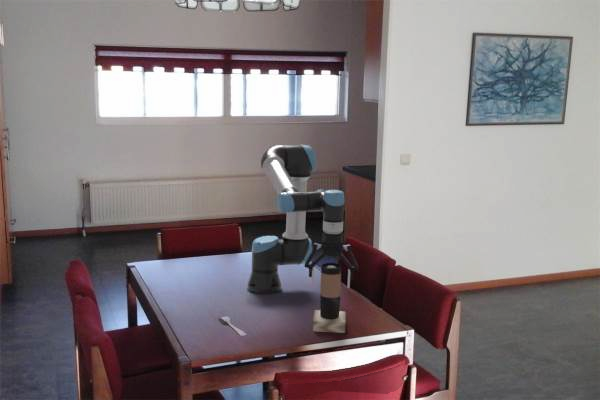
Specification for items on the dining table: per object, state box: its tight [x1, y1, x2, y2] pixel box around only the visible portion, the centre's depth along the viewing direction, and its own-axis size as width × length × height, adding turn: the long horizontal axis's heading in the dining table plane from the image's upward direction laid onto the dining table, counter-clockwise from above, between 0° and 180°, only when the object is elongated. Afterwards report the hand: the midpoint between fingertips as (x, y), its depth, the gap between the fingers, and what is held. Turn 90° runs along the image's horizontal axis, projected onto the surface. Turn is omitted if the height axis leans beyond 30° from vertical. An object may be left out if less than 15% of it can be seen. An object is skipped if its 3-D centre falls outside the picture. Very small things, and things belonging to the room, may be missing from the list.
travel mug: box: [319, 262, 342, 319], centre depth 240 cm, size 8×8×20 cm
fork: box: [217, 316, 247, 337], centre depth 240 cm, size 3×21×3 cm, turn 33°
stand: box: [312, 309, 347, 334], centre depth 242 cm, size 12×12×4 cm
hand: (330, 286), depth 240 cm, fingers open, 13 cm apart
